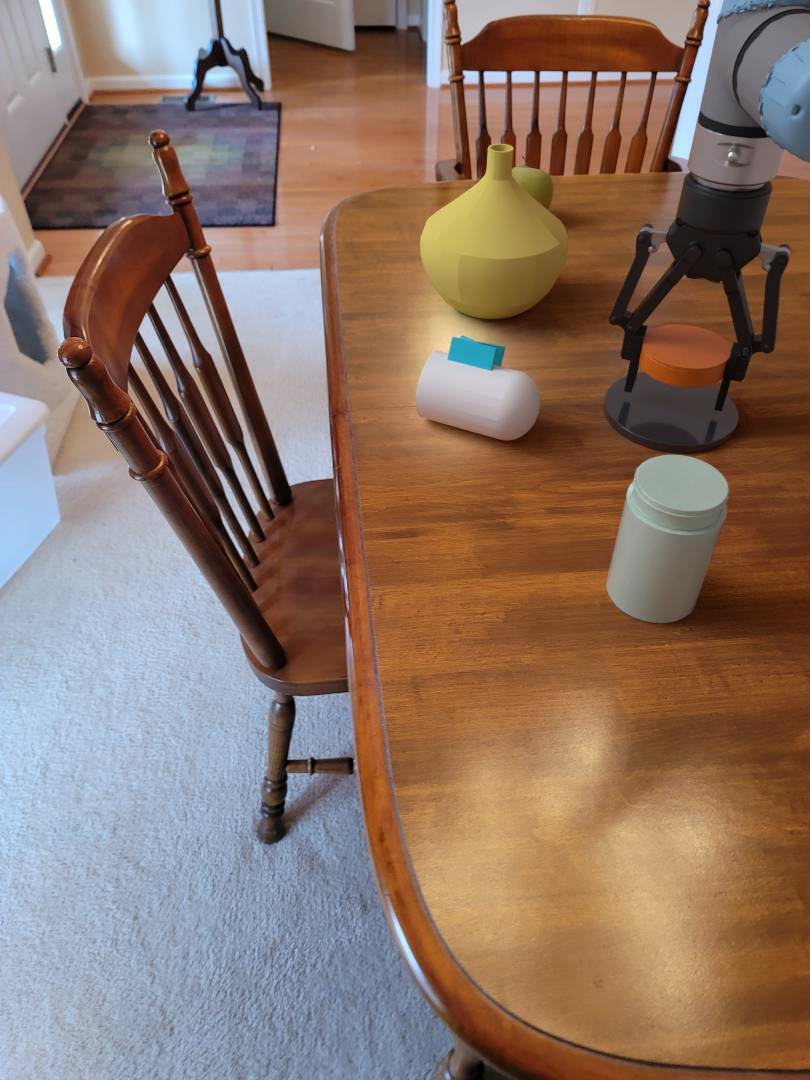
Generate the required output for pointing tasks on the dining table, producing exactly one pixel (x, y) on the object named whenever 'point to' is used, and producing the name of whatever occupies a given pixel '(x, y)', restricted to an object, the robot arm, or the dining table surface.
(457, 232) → the vase
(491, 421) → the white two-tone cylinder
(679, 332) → the lid
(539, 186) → the apple
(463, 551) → the dining table surface
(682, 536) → the jar
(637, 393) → the mat
